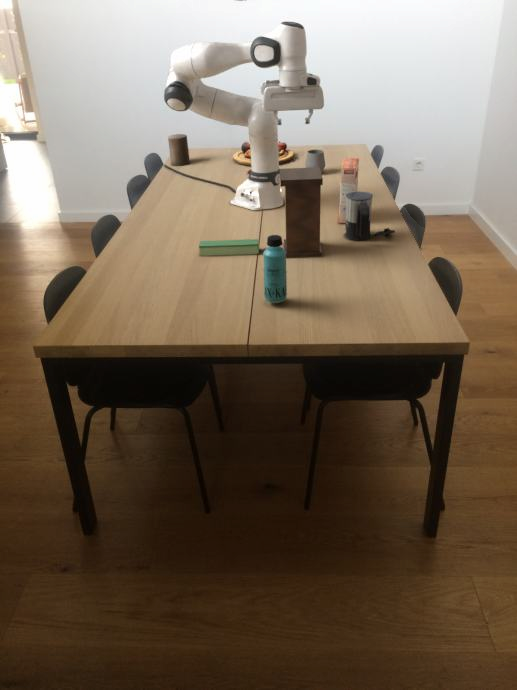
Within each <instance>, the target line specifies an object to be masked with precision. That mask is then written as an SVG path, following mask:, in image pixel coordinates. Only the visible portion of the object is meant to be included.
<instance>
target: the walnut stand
mask: <svg viewBox="0 0 517 690" xmlns="http://www.w3.org/2000/svg"><path fill="white" fill-rule="evenodd" d="M323 180H324V178H323V174H322V173H321V170H320V167H312V168H306V167H291V168H289V167H285V168H280V188H281V187H283V188H284V211H285V212H284V213H285V214H284V215H285V218H284V219H285V239H284V238H283V249H284V250H285V251H286V259H293V258H320V257H323V250H322V245H321V201H322V200H321V197H322V196H321V194H322V193H321V192H322V189H321V187H322V186H323V184H324V183H323Z"/></svg>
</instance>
